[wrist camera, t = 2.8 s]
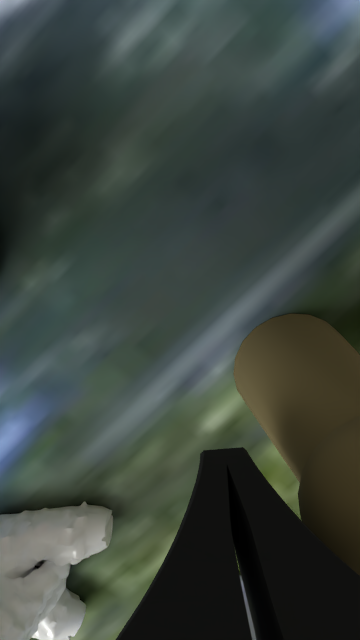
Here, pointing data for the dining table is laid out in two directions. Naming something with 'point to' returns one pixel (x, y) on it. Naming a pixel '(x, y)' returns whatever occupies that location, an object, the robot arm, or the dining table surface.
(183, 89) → the dining table surface
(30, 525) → the sitting furry creature
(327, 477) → the pepper shaker
